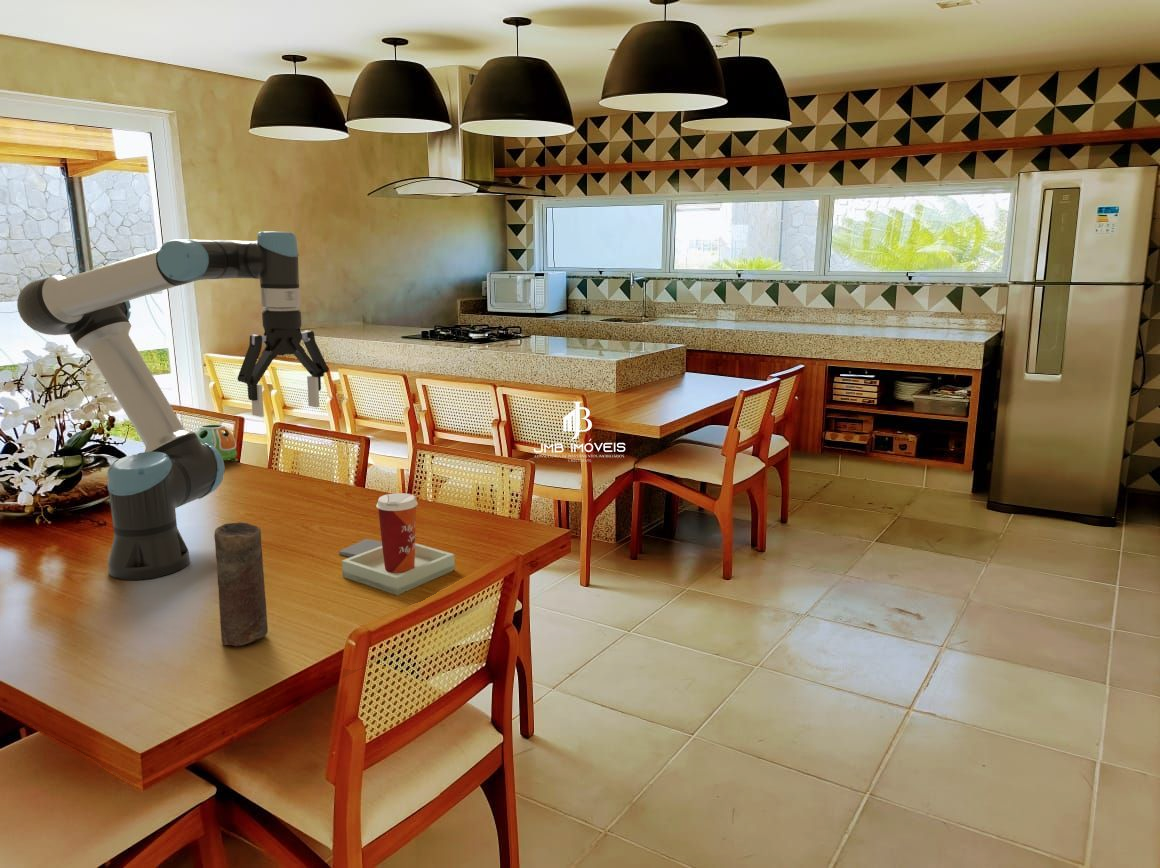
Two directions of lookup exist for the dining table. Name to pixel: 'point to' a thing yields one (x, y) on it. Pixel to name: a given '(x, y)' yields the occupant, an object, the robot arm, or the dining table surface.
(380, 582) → the bin
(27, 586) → the dining table surface
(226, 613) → the grey brown tall cylinder
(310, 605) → the dining table surface
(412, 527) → the coffee cup
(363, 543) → the slate coaster
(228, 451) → the turtle holder
